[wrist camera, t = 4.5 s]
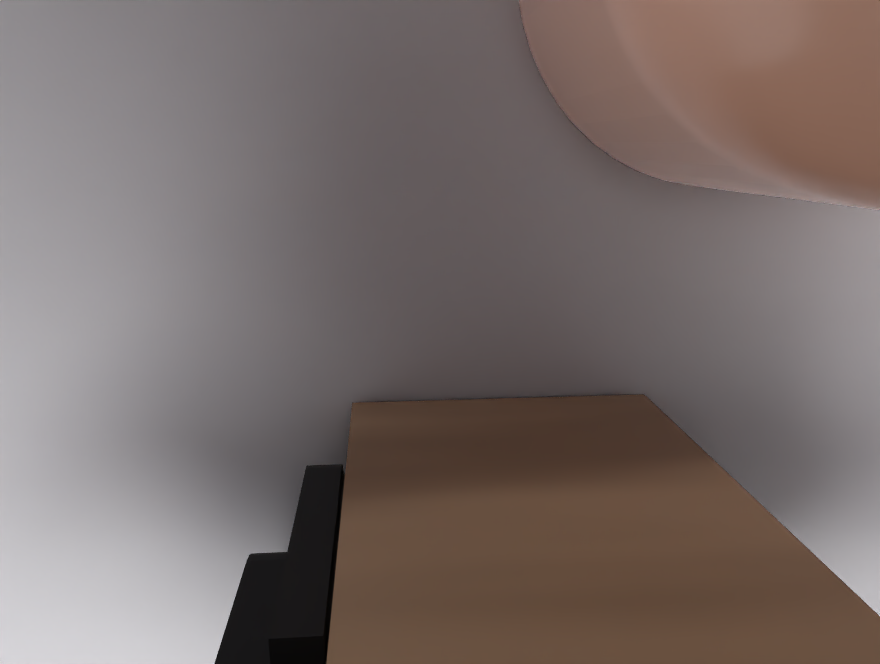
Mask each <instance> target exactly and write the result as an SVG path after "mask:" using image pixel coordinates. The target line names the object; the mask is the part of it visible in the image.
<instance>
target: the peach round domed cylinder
mask: <svg viewBox="0 0 880 664" xmlns="http://www.w3.org/2000/svg"><path fill="white" fill-rule="evenodd" d="M519 6H520V12H521V19H522V23H523V27H524V30H525V34H526V38H527V41H528V45H529V48H530V51H531V54H532V56H533V58H534V61H535V63H536V65H537V68H538V70H539V72H540V75H541V77H542V79H543V81H544V82H545V84H546V86H547V87H548V89H549V91H550V93H551V94H552V96H553V98H554V99H555V101H556V103H557V104H558V105H559V107H560V108H561V109H562V110H563V112H564V113H565V114H566V115H567V117H568V118H569V119H570V121H571V122H572V123H573V124H574V125H575V126H576V127H577V128H578V129H579V130H580V131H581V132H582V133H583V134H584V135H585V136H586V137H587V138H588V139H589V140H590V141H591V142H592V143H593V144H595V145H596V146H597V147H599V148H600V149H601V150H603V151H604V152H605V153H607V154H608V155H610V156H611V157H612V158H614V159H615V160H617V161H619V162H621V163H623V164H625V165H627V166H628V167H630V168H632V169H634V170H636V171H638V172H641V173H643V174H646V175H649V176H652V177H654V178H657V179H660V180H663V181H668V182H673V183H678V184H683V185H687V186H695V187H703V188H711V189H718V190H726V191H734V192H742V193H749V194H757V195H765V196H773V197H780V198H788V199H796V200H804V201H811V202H819V203H827V204H835V205H842V206H850V207H858V208H866V209H873V210H880V0H519Z"/></svg>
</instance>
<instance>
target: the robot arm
mask: <svg viewBox="0 0 880 664" xmlns="http://www.w3.org/2000/svg"><path fill="white" fill-rule="evenodd" d="M344 480H345V474H344V471H343V464H338V465H310V466H307V467H306V470H305V475H304V479H303V484H302V488H301V493H300V497H299V502H298V506H297V511H296V516H295V520H294V525H293V529H292V534H291V538H290V543H289V547H288V552H277V553H255V554H250V555H249V557H248V559H247V562H246V565H245V568H244V571H243V574H242V578H241V581H240V584H239V587H238V590H237V594H236V597H235V600H234V603H233V606H232V610H231V613H230V616H229V619H228V622H227V626H226V629H225V632H224V635H223V638H222V642H221V645H220V648H219V651H218V654H217V658H216V661H215V664H326V662H327V652H328V642H329V632H330V621H331V611H332V601H333V591H334V581H335V571H336V561H337V551H338V541H339V531H340V521H341V510H342V500H343V490H344Z"/></svg>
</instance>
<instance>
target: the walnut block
mask: <svg viewBox="0 0 880 664" xmlns="http://www.w3.org/2000/svg"><path fill="white" fill-rule="evenodd" d="M326 664H880V616H879V615H878V614H877V613H876V612H875V611H874V610H872V609H871V608H870V607H869V606H868V605H867V604H866V603H865V602H864V601H863V600H862V599H861V598H860V597H859V596H858V595H857V594H855V593H854V592H853V591H852V590H851V589H850V588H849V587H848V586H847V585H846V584H845V583H844V582H843V581H842V580H841V579H840V578H839V577H837V576H836V575H835V574H834V573H833V572H832V571H831V570H830V569H829V568H828V567H827V566H826V565H825V564H824V563H823V562H822V561H820V560H819V559H818V558H817V557H816V556H815V555H814V554H813V553H812V552H811V551H810V550H809V549H808V548H807V547H806V546H805V545H803V544H802V543H801V542H800V541H799V540H798V539H797V538H796V537H795V536H794V535H793V534H792V533H791V532H790V531H789V530H788V529H787V528H785V527H784V526H783V525H782V524H781V523H780V522H779V521H778V520H777V519H776V518H775V517H774V516H773V515H772V514H771V513H770V512H768V511H767V510H766V509H765V508H764V507H763V506H762V505H761V504H760V503H759V502H758V501H757V500H756V499H755V498H754V497H753V496H752V495H750V494H749V493H748V492H747V491H746V490H745V489H744V488H743V487H742V486H741V485H740V484H739V483H738V482H737V481H736V480H735V479H733V478H732V477H731V476H730V475H729V474H728V473H727V472H726V471H725V470H724V469H723V468H722V467H721V466H720V465H719V464H718V463H717V462H715V461H714V460H713V459H712V458H711V457H710V456H709V455H708V454H707V453H706V452H705V451H704V450H703V449H702V448H701V447H700V446H698V445H697V444H696V443H695V442H694V441H693V440H692V439H691V438H690V437H689V436H688V435H687V434H686V433H685V432H684V431H683V430H681V429H680V428H679V427H678V426H677V425H676V424H675V423H674V422H673V421H672V420H671V419H670V418H669V417H668V416H667V415H666V414H665V413H663V412H662V411H661V410H660V409H659V408H658V407H657V406H656V405H655V404H654V403H653V402H652V401H651V400H650V399H649V398H648V397H646V396H645V395H644V394H637V395H602V396H568V397H533V398H498V399H463V400H428V401H394V402H359V403H352V410H351V420H350V430H349V440H348V450H347V460H346V470H345V480H344V490H343V500H342V510H341V521H340V531H339V541H338V551H337V561H336V571H335V581H334V591H333V601H332V611H331V621H330V632H329V642H328V652H327V662H326Z"/></svg>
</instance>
